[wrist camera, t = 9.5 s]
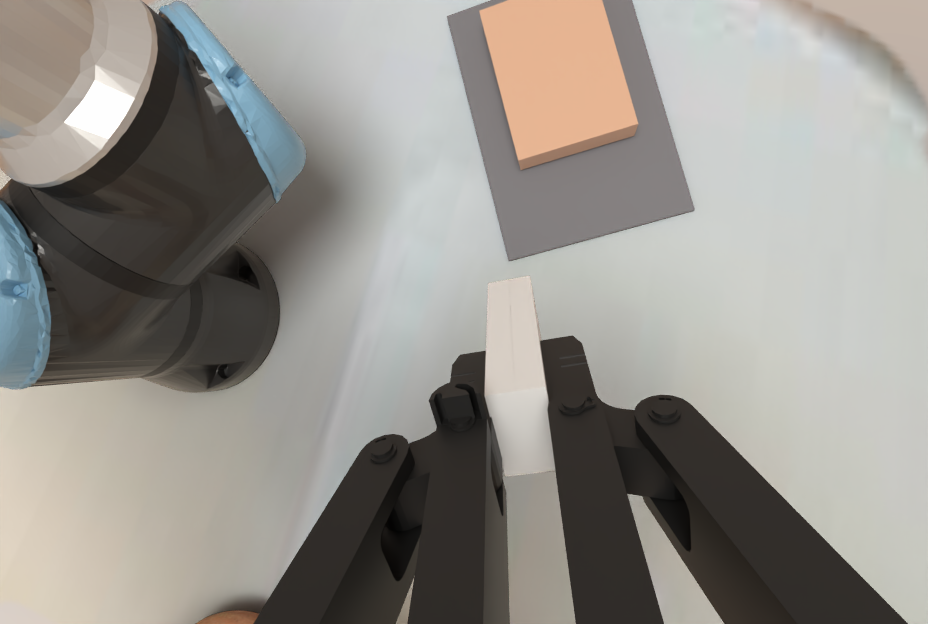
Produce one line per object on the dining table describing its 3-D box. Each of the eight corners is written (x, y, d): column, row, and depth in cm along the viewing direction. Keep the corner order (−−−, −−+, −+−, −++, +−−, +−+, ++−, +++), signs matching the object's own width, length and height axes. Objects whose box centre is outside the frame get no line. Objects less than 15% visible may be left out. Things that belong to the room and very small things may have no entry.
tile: (638, 123, 42) (593, -31, 43) (518, 160, 43) (479, 10, 45) (633, 137, 44) (591, -9, 46) (520, 171, 46) (483, 29, 48)
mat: (693, 210, 43) (694, 209, 43) (509, 261, 46) (508, 260, 46) (617, -43, 46) (618, -46, 46) (447, 18, 49) (446, 16, 48)
